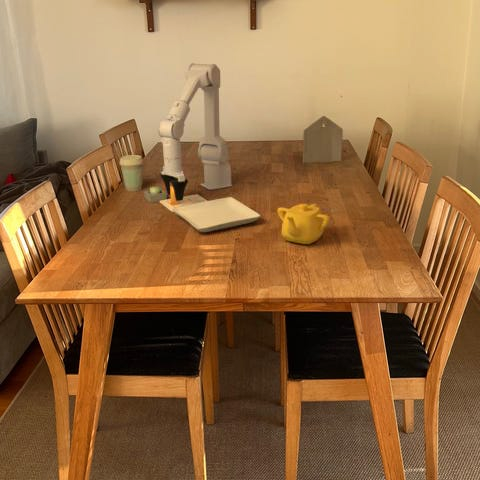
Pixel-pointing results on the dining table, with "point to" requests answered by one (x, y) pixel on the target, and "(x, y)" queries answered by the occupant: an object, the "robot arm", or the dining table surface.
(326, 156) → the grey pentagonal block
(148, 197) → the button housing
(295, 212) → the teapot
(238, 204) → the salad plate
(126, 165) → the coffee cup
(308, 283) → the dining table surface
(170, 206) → the sheet
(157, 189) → the button
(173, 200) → the marker
